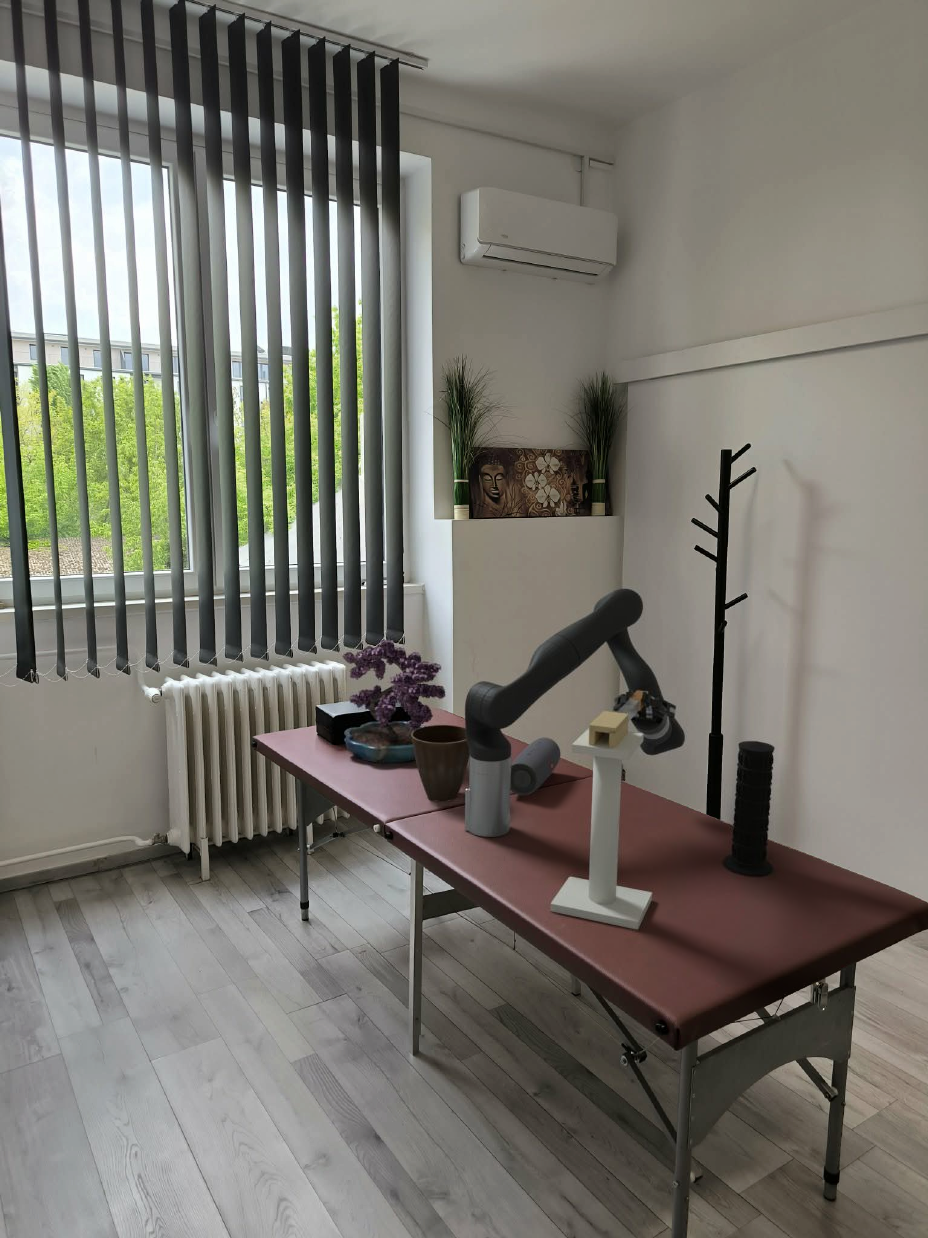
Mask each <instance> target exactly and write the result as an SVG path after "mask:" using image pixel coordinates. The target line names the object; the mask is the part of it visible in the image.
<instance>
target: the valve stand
mask: <svg viewBox="0 0 928 1238" xmlns="http://www.w3.org/2000/svg"><path fill="white" fill-rule="evenodd" d="M617 712H618V711H607V710H603V711H602V712H601V713H600V714H599V715H598V716H597V717H596V718H595V719H594V720H593V721H592V722H591V723H589V725H588V727H589V728H587V729H586V730H585V731H584V732H583V733H582V734H581V735H580V736H579V737H578V738H577V739H576V740H575V741H574V742H573V743H572V744H571V753H573V754H579V755H586V756H592V757H593V765H592V766H593V769H592V797H591V799H592V800H591V817H590V818H591V823H590V846H589V847H590V849H589V871H588V872H589V874H588V879H585V878H579V877H575V876H568V878H567V879H566V881H565V882H564V884H563V885H562V886H561V888H560V890H559V891H558V893H556V895H555V897H554V898H553V899H552V901H551V902H550V912H553V913H556V914H557V913H558V914H562V915H565V916H566V915H567V916H572V917H575V918H576V917H578V918H581V919H586V920H590V921H595V922H600V923H603V924H604V923H605V924H610V925H614V926H618V927H623V928H629V929H633V930H636V931H637V930H639V928H640V926H641V923H642V922H643V920H644V918H645V916H646V913H647V911H648V909H649V906H650V905H651V902H652V898H653V892H651V891H647V890H641V889H635V888H631V887H627V886H626V887H625V886H620V885H617V881H618V880H617V878H618V877H617V876H618V861H619V860H618V859H619V858H618V857H619V856H618V855H619V837H620V836H619V833H620V832H619V831H620V814H621V812H620V810H621V809H620V808H621V792H622V791H621V788H622V765H623V761H629V760H630V759H631V758H632V756H634V754H635V752H637V750H638V749H639V748H640V745H641V744H642V742H643V736H644V733H638V731H637V732H635V731H629V722H628V716H629V714H625V713H617Z"/></svg>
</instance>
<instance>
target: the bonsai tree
mask: <svg viewBox="0 0 928 1238" xmlns="http://www.w3.org/2000/svg"><path fill="white" fill-rule="evenodd" d="M342 658H343V660H345V662H346V663H347V664H350V665H352V664H353V665H355V666H353V667H352V668H351V669H350V670H349V672H350V674H349V677H350V678H351V679H355V680H357V681H359V679H361V678H362V677H363V676H364V675H366V674H367V673H368V672H369V671H370V672H371V671H373V672H374V674H375V677H376V679H378V681H381V680H383V679H384V678H385V673H386V670H387V669H386V665H387V664H388V665H389V666H392V665H393V664H394V665H396V666H397V667H398V668H399V669H400V671H401V672H399V674H398V673H395V675H393V676H390V677H389V679H390V680H389V681H388V683H391V684H393V685H392V686H390V687H388V688H385V689H384V690H382V687H381V685H378V684H376V685H375V686H373V689H361V690H360V691H359V690H358V693H356V694H352V695H350V697H349V703H350V704H352V703H353V704H354V706H355V705H356V707H357V708H358V709H359V708H361V707H363V706H364V709H365V711H366V710H368V711H369V712H370V714H371V715H372V717H373V718H374V720H376V721H370V722H367V723H364V724H361V725H360V727H358V726H357V727H350V728H347V729H346V730H345V731H344V733H343V734H344V735H345V738H344V739H343V740H344V742H345V745H346V748H347V751H348V752H349V753H351V754H354V756H355V757H356V758H359V759H361V760H364V761H367V762H373V763H387V764H389V763H391V764H392V763H393V764H394V763H402V762H409V761H413V760H416V759H415V754H414V749H413V742H412V735H411V734H412V732H413V731H414V730H416V729H418V728H421V727H425V726H426V725H423V724H425V723H429V721H430V722H431V720H432V718H433V717H434V715H433V713H432V710H431V708H430V707H429V705H428V704H423V703H422V702H421V701H419V700H420V697H421V698H425V699H428V700H429V699H430V698H432V699H435V698H437V699H438V700H439V701H441V700H442V699H444V698H445V697H446V689H445V688H444V686H443V685H439V684H438V685H436V684H428V682H432V681H434V679H435V678H437V674H438V673H440V670H441V671H442V665H441V664H439V663H435V662H434V663H433V662H432V663H430V662H429V661H426V660H425V661H424V660H423V661H422V657H421V653H420V652H416V651H414V652H411V653H408V654H407V652H406V649H405V648H404V647H401V646H400V647H397V646H395V644H394V640H392V639H390V638H389V639H386V640H383V641H380V643H379V644H378V645H377V646H376V647H373V646H370V645H367V646H366V647H364V648H363V649H362V650H360V651H357V652H356V654H353V653H352V652H351V651H348V652H345V653H344V654H343V655H342ZM382 659H383V660H382ZM385 660H386V661H385ZM372 669H373V670H372ZM407 670H408V671H407ZM398 703H399V704H400V707H402V710H404V712H406V713H407V716H409V718H410V720H408V721H405V720H403V721H402V720H401V721H399V720H398V721H392V722H390V720H391V717H392V715H393V714H395V712H396V710H397V707H396V706H397V705H396V704H398Z"/></svg>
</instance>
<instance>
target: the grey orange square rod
mask: <svg viewBox="0 0 928 1238" xmlns="http://www.w3.org/2000/svg"><path fill="white" fill-rule="evenodd" d="M644 692H647V693H648V691H644ZM642 694H643V691H639V690H637V691H636V692H635V693H634V694H633V695H632V696H631V697H630V698H629V700H628V701H627V702H626V703H625V704H624V705H623V706H622V708H621V709H620V710H619V711H616V712H617V713H625V714H629V716H628V723H629V722H630V721H631V719H632V718H633V716H634V715H635V714H636V713H637V712H638V711H639V710H641V709H642V708H643V707H644V705H643V703H642Z"/></svg>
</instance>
